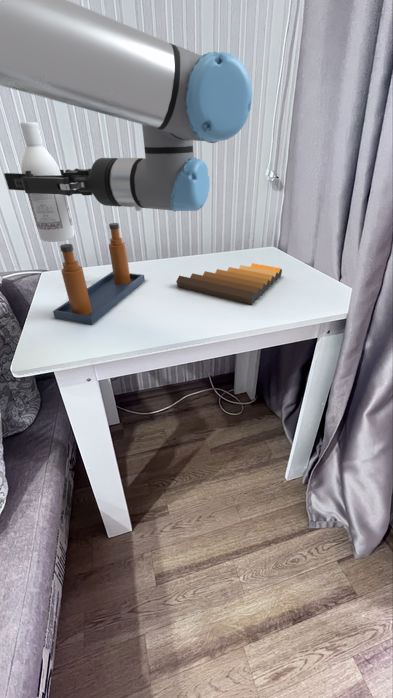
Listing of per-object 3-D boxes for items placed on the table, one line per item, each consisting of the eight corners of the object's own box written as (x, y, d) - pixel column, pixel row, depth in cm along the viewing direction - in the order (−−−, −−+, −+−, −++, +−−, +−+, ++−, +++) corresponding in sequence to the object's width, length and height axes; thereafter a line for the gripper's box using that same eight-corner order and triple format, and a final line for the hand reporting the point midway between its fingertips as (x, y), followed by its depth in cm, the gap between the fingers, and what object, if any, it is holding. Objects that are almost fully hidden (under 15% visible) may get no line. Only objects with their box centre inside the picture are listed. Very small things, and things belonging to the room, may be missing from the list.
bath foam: (59, 232, 72) (31, 123, 61) (82, 235, 69) (58, 122, 58) (33, 240, 67) (-2, 122, 56) (56, 244, 64) (25, 121, 53)
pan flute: (176, 287, 100) (250, 305, 89) (176, 277, 98) (251, 294, 87) (215, 263, 118) (281, 276, 107) (215, 254, 116) (282, 266, 105)
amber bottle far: (118, 286, 101) (108, 226, 91) (112, 281, 104) (102, 223, 94) (132, 282, 103) (125, 224, 93) (127, 277, 106) (119, 221, 96)
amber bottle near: (75, 318, 83) (57, 249, 73) (70, 311, 87) (52, 244, 77) (94, 313, 85) (79, 246, 75) (88, 306, 89) (74, 241, 79)
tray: (92, 324, 82) (90, 317, 81) (54, 318, 85) (52, 311, 84) (144, 280, 105) (144, 274, 104) (113, 277, 108) (112, 271, 107)
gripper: (87, 218, 50) (-14, 208, 58) (152, 197, 65) (64, 192, 73) (77, 163, 46) (-31, 160, 54) (148, 154, 61) (56, 153, 69)
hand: (24, 178), depth 64 cm, fingers closed on bath foam, 7 cm apart
